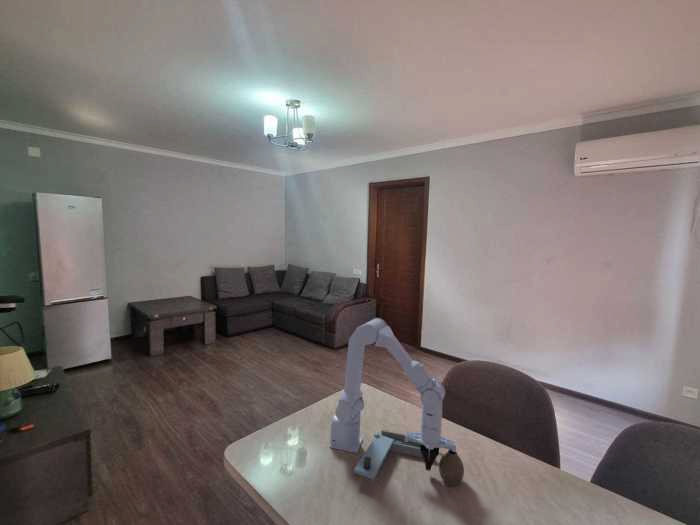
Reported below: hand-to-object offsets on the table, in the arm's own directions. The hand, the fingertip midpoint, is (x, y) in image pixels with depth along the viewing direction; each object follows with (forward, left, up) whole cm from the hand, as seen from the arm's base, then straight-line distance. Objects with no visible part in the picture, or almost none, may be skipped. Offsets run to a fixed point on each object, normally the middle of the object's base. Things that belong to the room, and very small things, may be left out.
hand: (428, 468), depth 93 cm
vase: (+7, 0, -2) cm, 7 cm away
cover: (-16, -1, +1) cm, 16 cm away
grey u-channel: (-7, +10, -2) cm, 12 cm away
